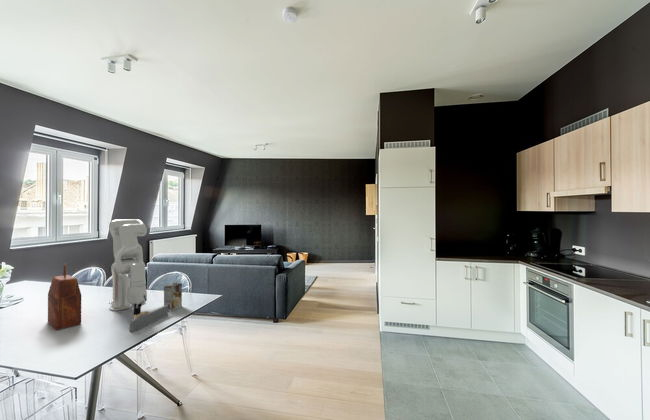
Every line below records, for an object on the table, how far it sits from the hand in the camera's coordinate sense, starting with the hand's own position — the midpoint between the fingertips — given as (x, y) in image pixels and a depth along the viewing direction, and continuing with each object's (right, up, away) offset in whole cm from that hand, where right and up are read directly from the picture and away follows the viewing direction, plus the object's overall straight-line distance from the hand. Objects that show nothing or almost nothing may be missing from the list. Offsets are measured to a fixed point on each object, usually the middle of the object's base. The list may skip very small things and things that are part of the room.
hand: (137, 314), depth 154 cm
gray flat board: (+9, -5, -1) cm, 10 cm away
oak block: (+4, -5, 0) cm, 7 cm away
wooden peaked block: (-40, -4, -3) cm, 41 cm away
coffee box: (+9, -5, +21) cm, 23 cm away
